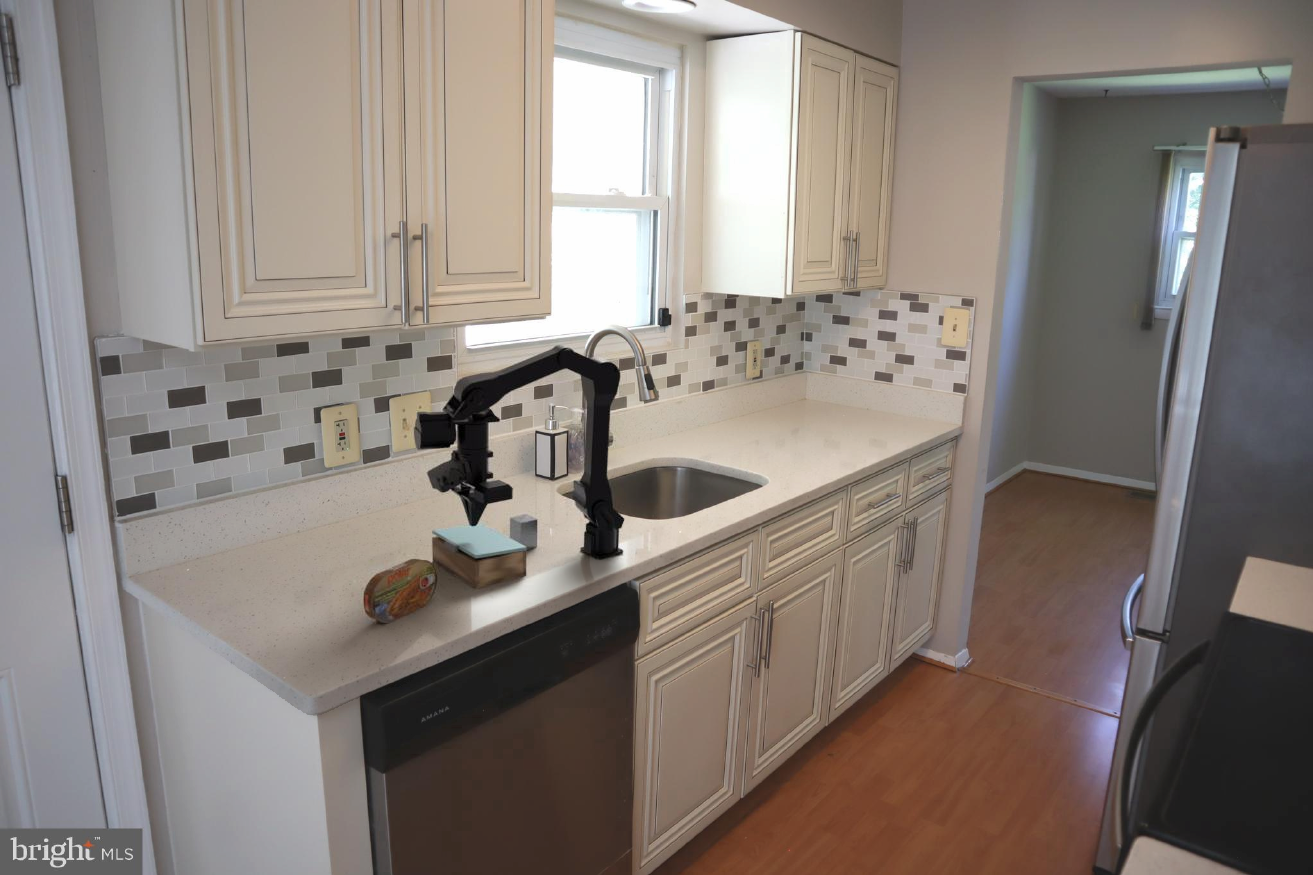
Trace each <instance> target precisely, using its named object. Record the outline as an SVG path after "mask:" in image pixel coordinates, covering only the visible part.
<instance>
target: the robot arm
mask: <svg viewBox="0 0 1313 875" xmlns="http://www.w3.org/2000/svg"><path fill="white" fill-rule="evenodd" d="M563 370H569V371H571V372H573V373H576V374H577V375H579V376H580V379H581V388H582V392H583V395H584V398H585V401H586V418H585V419H586V420H585V421H586V422H585V439H584V440H585V441H584V465H583V474H582V476H581V478H580V480H573V483H572V486H573V494H572V497H571V499H572V501H574V504H575V507H576V508H577V509H578V510H579V511H580V512H581V513H582V515H583V517H584V518H585V519H587V520H588V522H587V523H585V531H584V533H583V546H581V547H580V549H579V550H580V551H582V552H583V553H585V554H587V555H590V557H594V558H596V559H598V560H602V559H606V558H609V557H613V556H616V555H619V554H623V553H624V550H623V549H622V548H620V547H619V542H620V541H619V540H620V539H619V538H620V529H622V528H623V525H624V522H625V518H624V517H623V516H622V515H621V514H620V513H619V512H618V511H617V510H616V509H615V508H614V498H613V497H614V496H613V490H612V487H611V485H610V481H609V477H608V467H609V466H608V464H609V463H608V462H609V461H608V460H609V444H610V443H609V442H610V427H611V426H610V424H611V407H612V405H613V402H614V400H615V398H616V396H617V394H618V392H619V386H620V381H621V371H620V368H619V367H618V366H617V365H616V364H615V363H613V362H612V361H609V360H607V359H604V358H602V357H601V356H600V357H599V356H593V357H587V356H584V355H583V354H580V353H578V352H576V351H574V350H573V349H572V348H570V347H568V346H567V345H566V346H565V345H563V344H557V345H555V346H553V348H551V349H548V350H546V351H544V352H541V353H539V354H536V355H533V356H531V357H529V358H527V359H524V360H521V361H519V362H517V363H514V364H512V365H510V366H507V367H505V368H502V369H500V370H496V371H492V372H491V371H489V372H480V373H475V374H472V375H467V376H464V377H462V378H460V379H458V381H457V382H456V384H455V386H454V389H453V394H452V396H450V398H449V400H448V401H447V402H446V404H445V405H444V406H443V408H442V411H417V412H416V419H415V421H414V422H415V424H414V427H413V439H414V444H415V448H416V450H417V451H425V450H438V449H449V448H451V446H453V445H454V444H455V442H456V449H453V450H452V452H451V453H450V455H451V457H450V459H449V460H447V461H444V462H442V463H440V464H439V465H436V466H435V467H433V468H431V469H429V470H428V471H427V472H426V473H427V474H426V475H427V477H428V479H429V480H428V481H429V483H430V485H431V488H432V489H434V490H437V491H439V492H440V493H441V494H442V493H447V492H449V491H450V492H452V493H454V494H455V495H456V496H458V497H459V498H460V501H461V503H462V506H463V508H464V512H465V515H466V518H467V521H468V524H469V525H470V526H472V527H473V526H476V525H477V524H479V522H480V520H481V518H482V515H483V514H484V512H485V509H486V508H487V506H488V505H490V504H494V503H499V502H505V501H509V500H513V498H514V488H513V487H512V486H511V485H510V484H509V483H507V482H504V481H502V480H500V479H496V480H491V481H489V480H490V479H494V473H493V472H491V471H489V470H490V469H489V466H490V465H489V464H490V460H489V459H490V458H494V451H492V450H490V449H489V442H490V438H489V434H490V433H489V429H490V428H489V424H490V423H500V421H501V419H500V417H498V416H496V414H495V413H494V411H493V409H491V407H493V406H494V405H496V404H498V403H499V402H500V401H501V400H502V399H503V398H504V397H505V396H506V395H508V394H509V393H511V392H513V391H515V390H517V389H520V388H523V387H524V386H527V385H530V384H532V383H534V382H537V381H539V380H542V379H544V378H546V377H548V376H551V375H553V374H556V373H558V372H560V371H563Z"/></svg>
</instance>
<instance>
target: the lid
mask: <svg viewBox="0 0 1313 875" xmlns="http://www.w3.org/2000/svg"><path fill="white" fill-rule="evenodd" d="M431 533H432V534H433V535H435V537H436V536H438V537H440V538H441V539H443V540H445V542H444V547H445V548H447V549H449V550H450V551H452V552H454V553H458V549H460V550H462V551H464V552H465V553H467V554H469V555H470V556H472V557H474V558H482V557H488V556H494V555H500V554H506V553H512V552H518V551H524V550H528V549H527V547H526V546H524V545H522V544H520V543H518V542H516V541H514V540H512V539H511V538H510V536H509V537H508V535H507V536H506V535H505V534H503V533H501V532H499V531H497V530H496V529H493V528H492V527H490V526H487V525H485V524H484V523H478V524H477V525H476V526H473V527H472V526H470V525H461V526H452V527H447V528H440V529H439V528H437V529H433V530H432V531H431Z"/></svg>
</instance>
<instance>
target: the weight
mask: <svg viewBox="0 0 1313 875" xmlns="http://www.w3.org/2000/svg"><path fill="white" fill-rule="evenodd" d="M509 538H511V539H512V540H514V541H516V542H518V543H520V544H522V545H524V546H526V547H527V550H530V549H534V548H537V547H538V519H537V518H535V517H533V516H532V515H529V514H528V513H525V514H520V515H516V516H511V517H509Z"/></svg>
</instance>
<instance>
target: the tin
mask: <svg viewBox="0 0 1313 875" xmlns="http://www.w3.org/2000/svg"><path fill="white" fill-rule="evenodd" d="M436 568H437V567H435V564H433V562H431V561H429V560H427V559H420V558H411V559H408V560H406V561H403V562H402V563H398V564H397V565H394V566H392V567H389V568H388V569H385V570H383V571H381V572H379V573H376V574H374V576H372V577H371V579H369V581H368V583H367V584H366V586H365V588H364V591H363V609H364V612H365V614H366V615H367V616H368V617H369V618H370V619H373V620H375V621H378V622H381V623H383V624H391V623H393V622H395V621H397V620H398V619H401V618H403V617H405V616H406V615H409V614H410V613H412V612H415V611H417V610H419V609H421V608H422V607H424V606H426V605H427V604H429V602H430V601H431V600H432V598H434V595H435V593H436V590H437V587H438V581H439V580H438V571H437V569H436Z"/></svg>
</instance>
